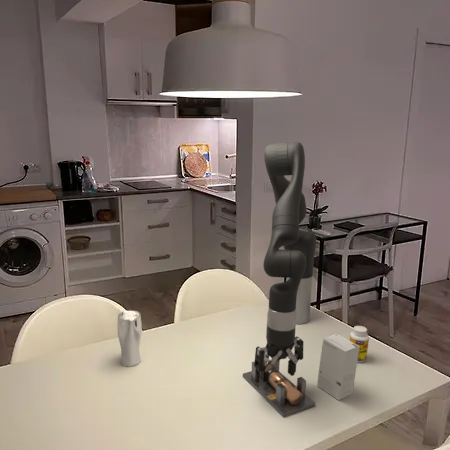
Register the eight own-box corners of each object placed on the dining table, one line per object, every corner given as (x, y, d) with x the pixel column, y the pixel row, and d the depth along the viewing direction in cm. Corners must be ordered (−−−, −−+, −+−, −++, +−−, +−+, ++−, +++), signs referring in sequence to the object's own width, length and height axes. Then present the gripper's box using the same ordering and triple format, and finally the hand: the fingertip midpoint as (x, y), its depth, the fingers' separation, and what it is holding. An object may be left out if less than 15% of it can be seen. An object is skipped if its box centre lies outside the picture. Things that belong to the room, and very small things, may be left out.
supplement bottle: (352, 364, 140) (355, 333, 138) (345, 354, 146) (348, 324, 143) (369, 363, 141) (373, 332, 139) (361, 353, 146) (365, 324, 144)
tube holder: (242, 376, 132) (243, 357, 131) (271, 368, 137) (272, 350, 135) (283, 417, 115) (284, 396, 114) (315, 406, 120) (316, 385, 118)
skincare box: (316, 386, 128) (320, 337, 125) (331, 379, 132) (335, 331, 128) (339, 401, 122) (344, 350, 118) (355, 394, 125) (360, 344, 122)
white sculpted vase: (124, 370, 134) (123, 322, 130) (114, 359, 139) (113, 313, 136) (146, 362, 138) (145, 316, 134) (136, 352, 143) (135, 308, 140)
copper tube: (301, 403, 119) (303, 390, 118) (290, 406, 118) (291, 393, 117) (265, 370, 134) (266, 359, 133) (254, 373, 132) (255, 361, 131)
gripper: (266, 335, 115) (263, 392, 119) (312, 323, 121) (307, 378, 125) (250, 322, 121) (248, 377, 125) (294, 312, 128) (291, 365, 132)
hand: (278, 378), depth 125 cm, fingers open, 8 cm apart
